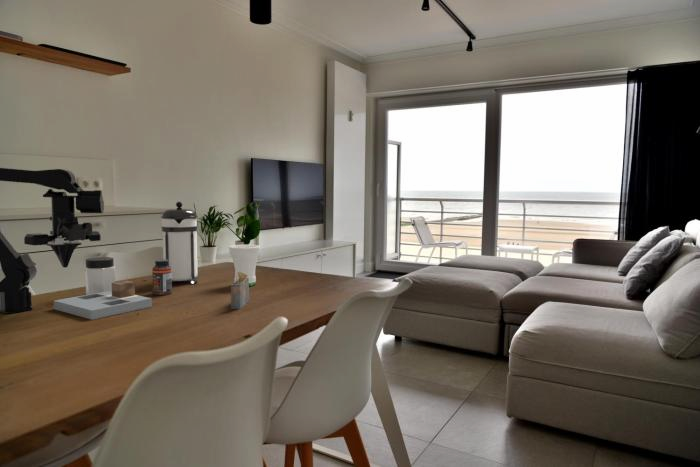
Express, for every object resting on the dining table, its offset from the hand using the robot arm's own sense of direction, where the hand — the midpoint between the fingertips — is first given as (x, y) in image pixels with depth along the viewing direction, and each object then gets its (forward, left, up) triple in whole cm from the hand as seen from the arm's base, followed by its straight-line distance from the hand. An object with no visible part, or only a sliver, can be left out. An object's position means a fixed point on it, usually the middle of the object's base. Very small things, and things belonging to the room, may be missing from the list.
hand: (65, 267), depth 143 cm
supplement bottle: (+28, -6, -12) cm, 31 cm away
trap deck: (+6, -9, -12) cm, 16 cm away
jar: (+15, +8, -12) cm, 21 cm away
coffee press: (+45, +7, -12) cm, 47 cm away
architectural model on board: (+32, -38, -13) cm, 51 cm away
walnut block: (+12, -9, -9) cm, 18 cm away
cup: (+55, -17, -12) cm, 59 cm away
